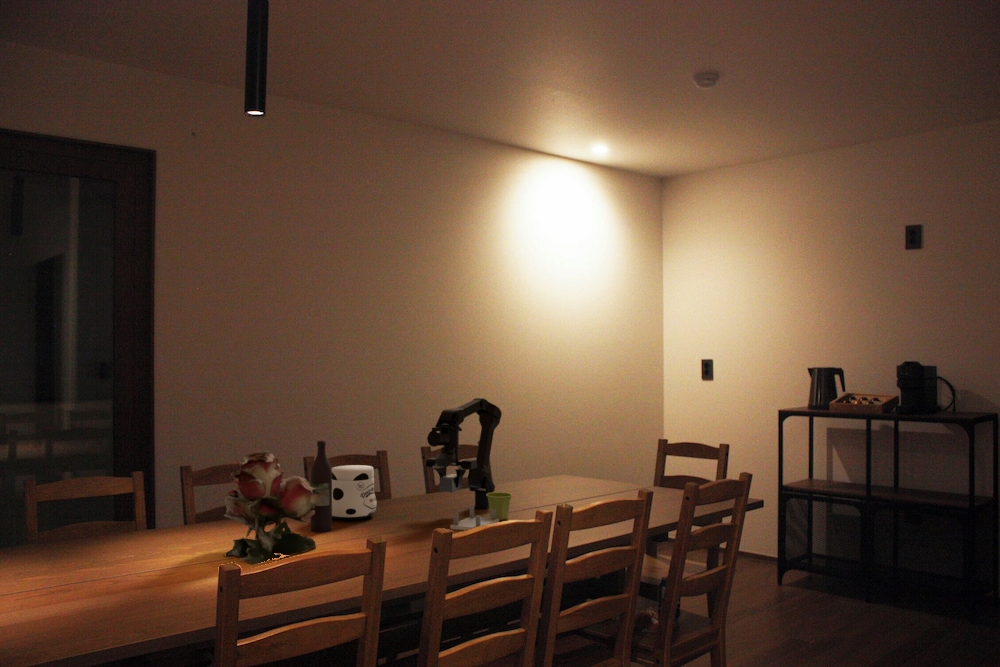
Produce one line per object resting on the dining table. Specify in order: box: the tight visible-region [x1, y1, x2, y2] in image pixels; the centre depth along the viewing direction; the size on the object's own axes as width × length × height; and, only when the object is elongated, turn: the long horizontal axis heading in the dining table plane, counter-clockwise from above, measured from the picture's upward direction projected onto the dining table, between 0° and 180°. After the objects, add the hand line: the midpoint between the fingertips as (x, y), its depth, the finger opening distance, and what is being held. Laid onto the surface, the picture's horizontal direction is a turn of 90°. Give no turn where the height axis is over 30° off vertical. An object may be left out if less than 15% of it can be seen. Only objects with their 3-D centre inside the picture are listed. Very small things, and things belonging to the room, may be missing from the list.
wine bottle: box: [309, 439, 333, 533], centre depth 268 cm, size 7×7×30 cm
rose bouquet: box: [223, 450, 321, 565], centre depth 241 cm, size 26×29×30 cm
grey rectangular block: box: [439, 473, 463, 493], centre depth 291 cm, size 9×5×5 cm, turn 159°
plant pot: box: [486, 491, 513, 521], centre depth 286 cm, size 9×9×9 cm
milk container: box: [331, 464, 378, 521], centre depth 289 cm, size 17×17×18 cm
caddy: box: [449, 506, 500, 531], centre depth 274 cm, size 16×11×5 cm
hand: (450, 487), depth 291 cm, fingers closed on grey rectangular block, 5 cm apart
